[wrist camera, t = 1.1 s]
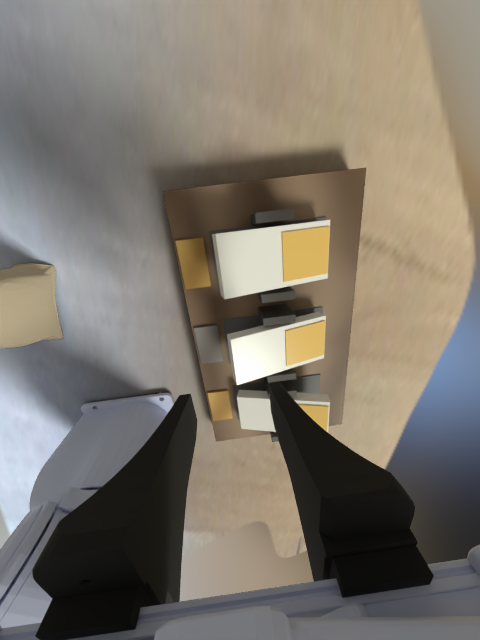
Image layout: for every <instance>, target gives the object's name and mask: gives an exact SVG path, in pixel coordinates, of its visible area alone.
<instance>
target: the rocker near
mask: <svg viewBox="0 0 480 640" xmlns="http://www.w3.org/2000/svg"><path fill="white" fill-rule="evenodd" d="M212 238H213V245H214V252H215V258H216V265H217V272H218V279H219V285H220V292H221V296H222V297H223V298H224V299H229V298H234V297H239V296H244V295H249V294H254V293H258V292H263V291H268V290H273V289H278V288H283V287H288V286H293V285H298V284H302V283H307V282H312V281H317V280H322V279H327V278H328V260H329V238H330V220H323V221H314V222H306V223H298V224H290V225H282V226H274V227H266V228H258V229H250V230H242V231H233V232H225V233H217V234H212Z"/></svg>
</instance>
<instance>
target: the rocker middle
mask: <svg viewBox="0 0 480 640" xmlns="http://www.w3.org/2000/svg"><path fill="white" fill-rule="evenodd" d="M325 326H326V315H324V314H322V313H320V312H315V313H311V314H307V315H303V316H299V317H296V322H293V323H285V324H277V325H269V326H263V325H262V326H258V327H254V328H250V329H246V330H242V331H238V332H234V333H230V334H227V339H228V346H229V353H230V359H231V366H232V373H233V378H234V380H235V382H236V384H237V385H240V384H243V383H246V382H249V381H253V380H256V379H259V378H262V377H265V376H268V375H272V374H275V373H278V372H281V371H284V370H288V369H291V368H294V367H297V366H300V365H304V364H307V363H310V362H313V361H316V360H319V359H323V358H324V348H325Z"/></svg>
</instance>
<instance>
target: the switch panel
mask: <svg viewBox="0 0 480 640" xmlns="http://www.w3.org/2000/svg"><path fill="white" fill-rule="evenodd" d="M365 176H366V168H359V169H350V170H342V171H333V172H324V173H316V174H307V175H298V176H290V177H281V178H272V179H264V180H255V181H246V182H238V183H229V184H220V185H212V186H203V187H194V188H186V189H177V190H168V191H163V196H164V201H165V205H166V210H167V215H168V219H169V224H170V229H171V233H172V238H173V243H174V247H175V252H176V257H177V261H178V266H179V271H180V275H181V280H182V284H183V289H184V294H185V298H186V303H187V308H188V312H189V317H190V322H191V326H192V331H193V336H194V340H195V345H196V350H197V354H198V359H199V364H200V368H201V373H202V378H203V382H204V387H205V392H206V396H207V401H208V406H209V410H210V415H211V420H212V424H213V429H214V434H215V438H216V441H223V440H230V439H237V438H245V437H252V436H259V435H267V434H271V438H272V442H275V441H279V440H278V437H277V434H276V432H271V431H259V430H248V429H241V423H240V416H239V409H238V402H237V395H238V391H239V390H255V391H267V393H268V397H269V400H270V392H269V383H276V382H280V383H281V384H282V385H283V387H284V388H285V389H286V391H287V392H288V393H289V395H290V396H291V397H292V396H297V393H318V394H328V396H329V400H330V410H329V426H332V425H340V424H342V418H343V407H344V397H345V386H346V376H347V365H348V355H349V344H350V333H351V323H352V312H353V302H354V291H355V281H356V270H357V260H358V249H359V239H360V228H361V218H362V207H363V197H364V186H365ZM323 220H330V238H329V260H328V278H327V279H322V280H317V281H312V282H307V283H302V284H298V285H293V286H288V287H283V288H278V289H273V290H268V291H263V292H258V293H254V294H249V295H244V296H239V297H234V298H229V299H224V298H223V297H222V296H221V292H220V285H219V279H218V272H217V265H216V258H215V252H214V245H213V238H212V234H217V233H225V232H233V231H242V230H250V229H258V228H266V227H274V226H282V225H290V224H298V223H306V222H314V221H323ZM315 312H320V313H322V314H324V315H326V326H325V348H324V358H323V359H319V360H316V361H313V362H310V363H307V364H304V365H300V366H297V367H294V368H291V369H288V370H284V371H281V372H278V373H275V374H272V375H268V376H265V377H262V378H259V379H256V380H253V381H249V382H246V383H243V384H240V385H237V384H236V382H235V380H234V378H233V373H232V366H231V359H230V353H229V346H228V339H227V334H230V333H234V332H238V331H242V330H246V329H250V328H254V327H258V326H262V325H263V326H269V325H277V324H285V323H293V322H296V317H299V316H303V315H307V314H311V313H315Z"/></svg>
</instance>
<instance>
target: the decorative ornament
mask: <svg viewBox="0 0 480 640" xmlns="http://www.w3.org/2000/svg"><path fill="white" fill-rule="evenodd" d="M55 280H56V269H55V267H54V266H53V265H45V264H33V263H26V264H15V265H14V266H13V267H12V268H8V269H2V270H0V348H15V347H21V346H26V345H29V344H32V343H35V342H38V341H40V340H55V339H61V338H63V334H62V330H61V327H60V322H59V317H58V312H57V306H56V297H55Z"/></svg>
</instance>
